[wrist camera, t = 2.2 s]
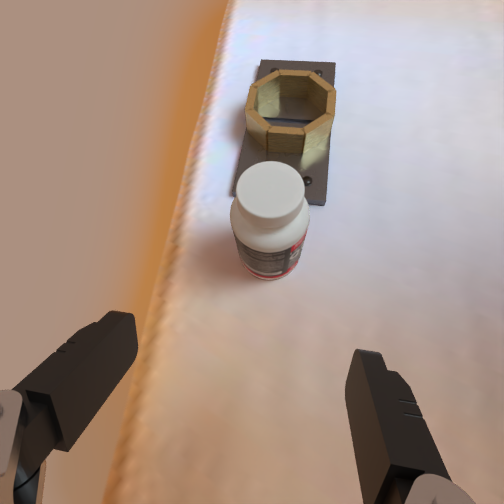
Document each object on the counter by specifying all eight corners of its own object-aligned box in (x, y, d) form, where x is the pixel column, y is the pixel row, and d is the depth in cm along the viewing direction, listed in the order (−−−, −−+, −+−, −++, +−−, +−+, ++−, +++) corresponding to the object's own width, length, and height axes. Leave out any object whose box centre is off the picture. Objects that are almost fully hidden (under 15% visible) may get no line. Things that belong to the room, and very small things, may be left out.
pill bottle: (301, 281, 24) (320, 229, 15) (238, 280, 24) (219, 229, 15) (299, 225, 26) (314, 149, 17) (241, 225, 26) (225, 151, 17)
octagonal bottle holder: (261, 66, 34) (260, 36, 31) (334, 69, 33) (340, 39, 30) (233, 196, 27) (228, 175, 24) (324, 205, 26) (331, 184, 23)
